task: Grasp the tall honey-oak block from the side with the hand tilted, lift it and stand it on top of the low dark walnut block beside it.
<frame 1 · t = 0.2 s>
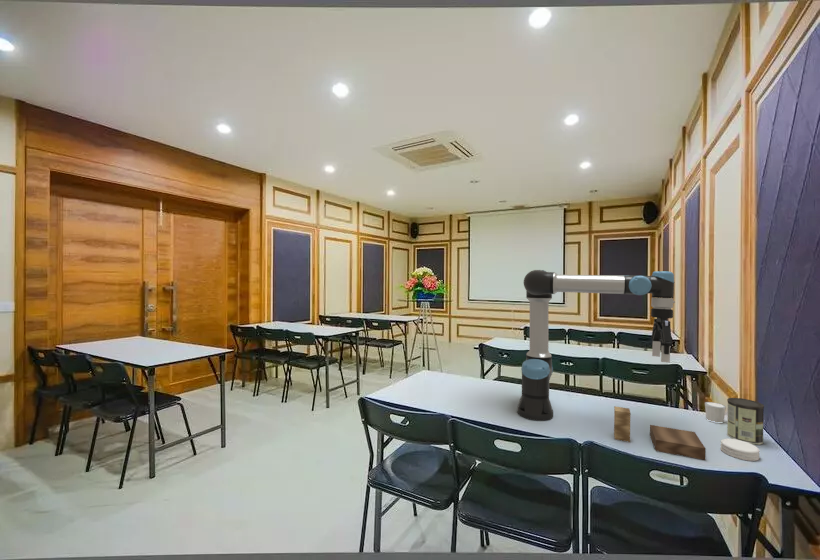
hand: (660, 359, 149), 27 cm above the table, tool pointing down, fingers open, 13 cm apart
walnut block: (675, 446, 130), on the table
coaster: (739, 454, 125), on the table
oak block: (621, 437, 137), on the table
coffee can: (744, 439, 137), on the table
white tapered cup: (714, 421, 153), on the table
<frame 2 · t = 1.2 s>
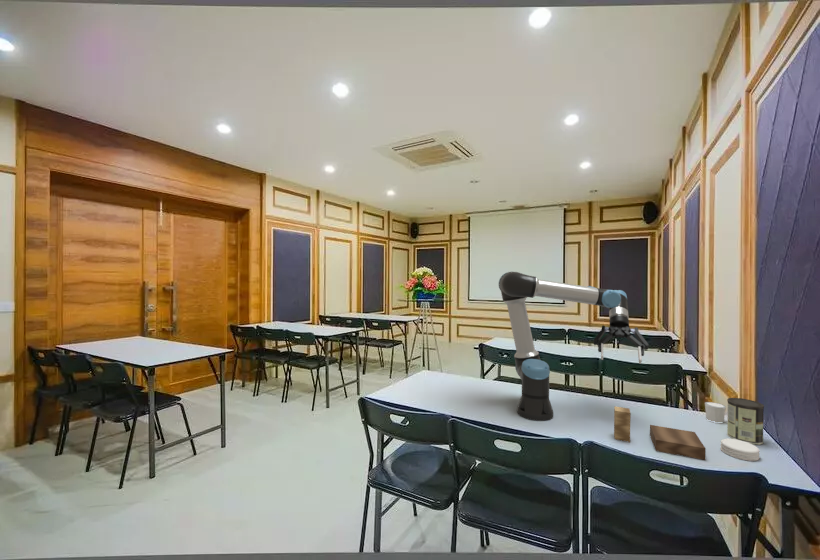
hand: (620, 359, 148), 27 cm above the table, tool tilted 45°, fingers open, 13 cm apart
nothing on the table moved.
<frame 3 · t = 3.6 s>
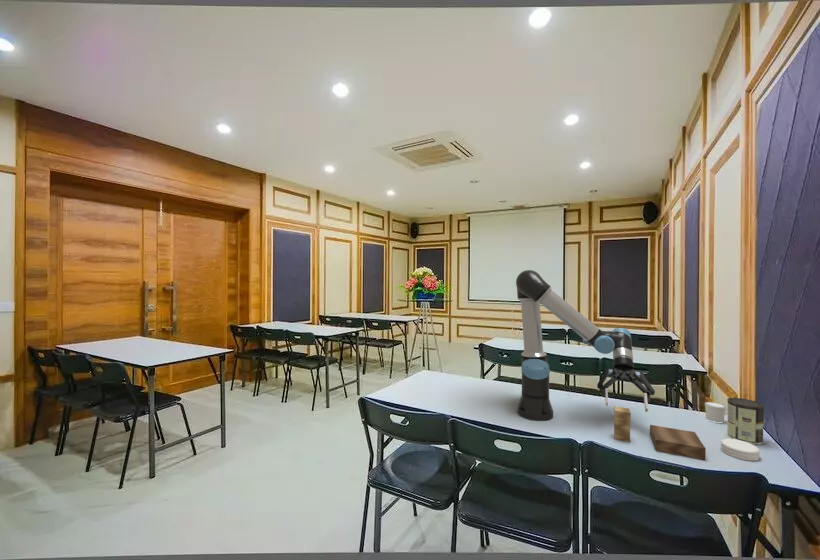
hand: (626, 407, 142), 10 cm above the table, tool tilted 45°, fingers open, 13 cm apart
nothing on the table moved.
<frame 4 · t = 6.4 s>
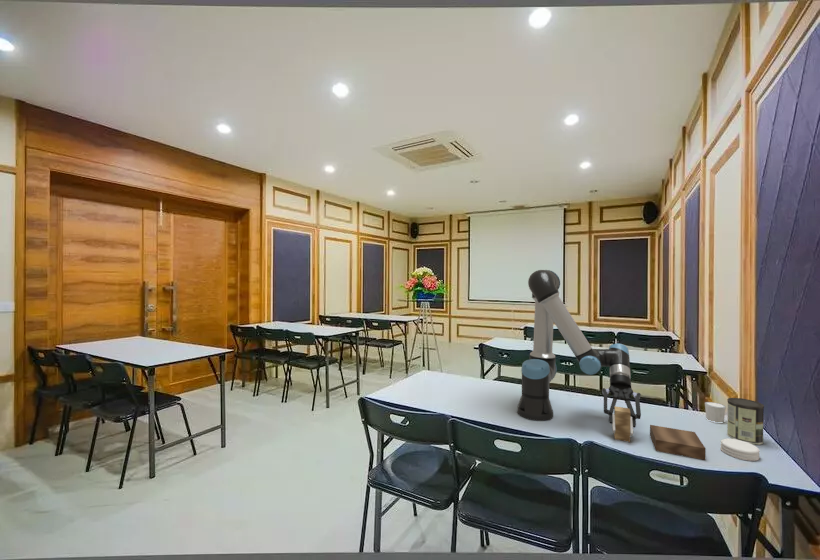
hand: (622, 433, 134), 3 cm above the table, tool tilted 45°, fingers closed on oak block, 5 cm apart
oak block: (621, 437, 137), on the table, touching gripper
everything else where it was.
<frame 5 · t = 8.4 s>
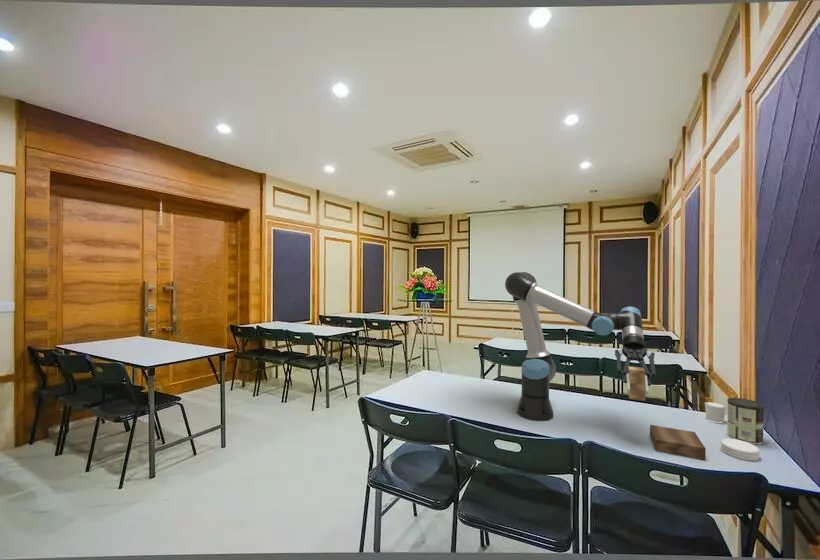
hand: (637, 391, 131), 20 cm above the table, tool tilted 45°, fingers closed on oak block, 5 cm apart
oak block: (636, 397, 135), point 16 cm above the table, touching gripper
everything else where it was.
when the fingers open (8 cm above the table, at t = 10.8 s): oak block stays where it is, resting on walnut block.
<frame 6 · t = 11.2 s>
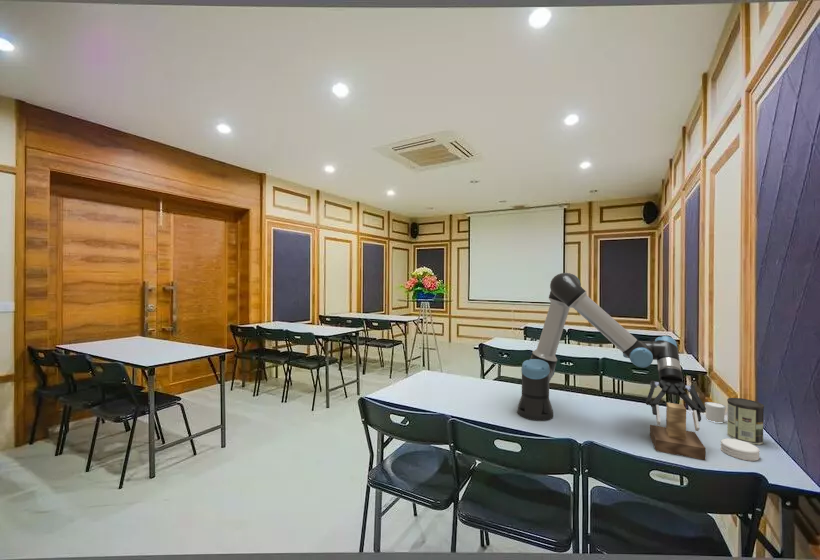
hand: (677, 426, 128), 9 cm above the table, tool tilted 45°, fingers open, 10 cm apart
oak block: (675, 435, 130), point 4 cm above the table, touching walnut block
everything else where it was.
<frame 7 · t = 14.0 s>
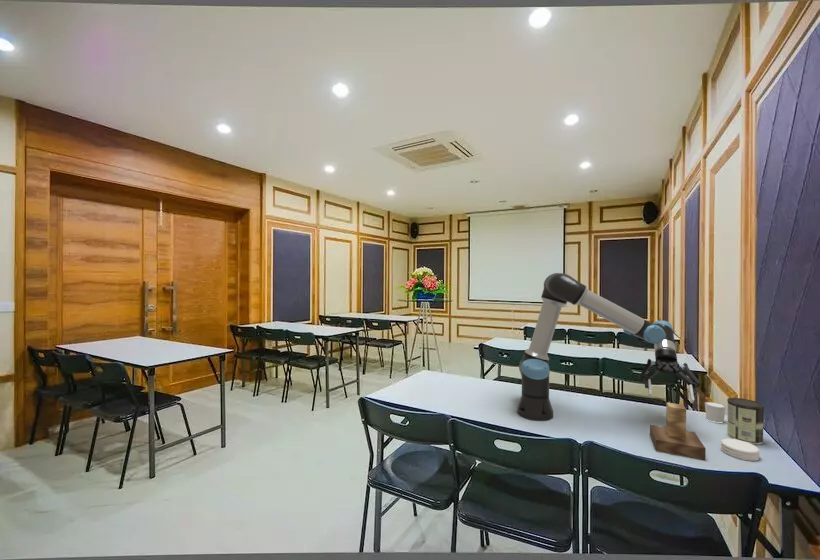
hand: (670, 398, 140), 14 cm above the table, tool tilted 45°, fingers open, 13 cm apart
nothing on the table moved.
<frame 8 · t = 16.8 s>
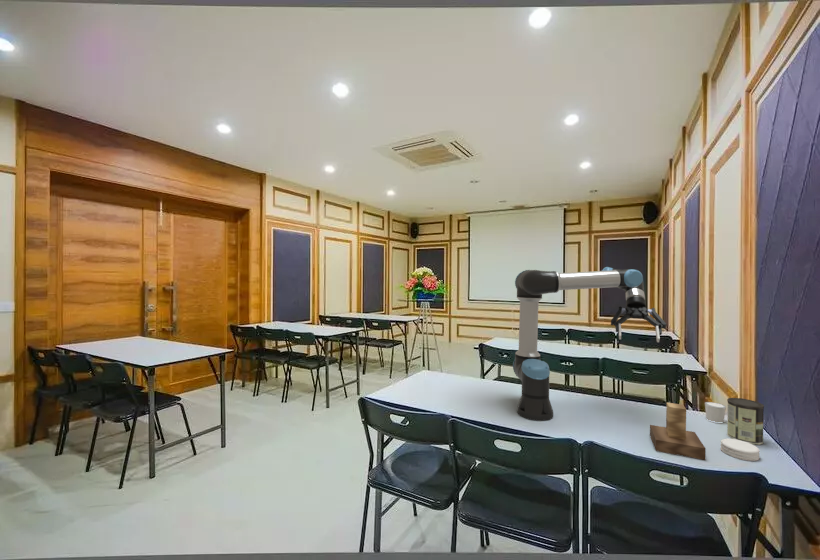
hand: (638, 339, 150), 36 cm above the table, tool tilted 45°, fingers open, 13 cm apart
nothing on the table moved.
at the end: oak block inside the target area on the walnut block (0.0 cm from its centre), point 4.0 cm above the walnut block's base; oak block tilted 0°; the gripper is holding nothing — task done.
